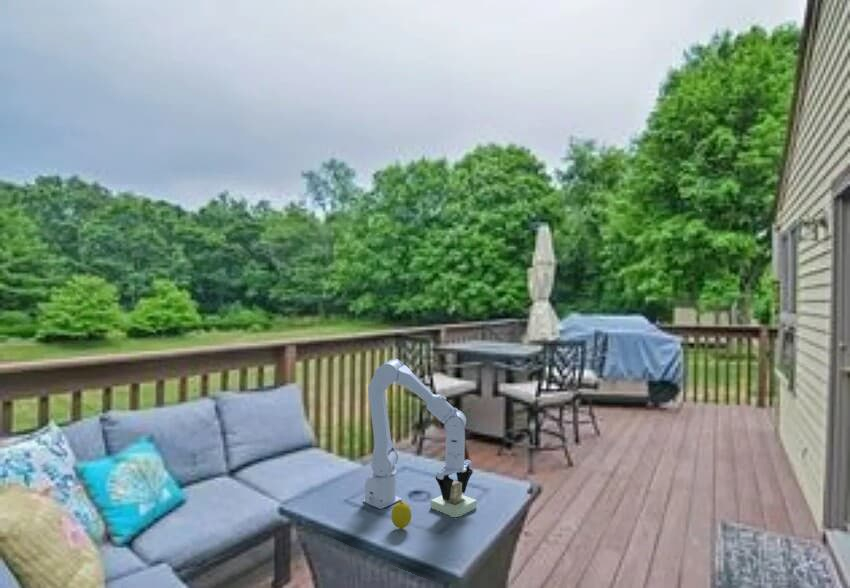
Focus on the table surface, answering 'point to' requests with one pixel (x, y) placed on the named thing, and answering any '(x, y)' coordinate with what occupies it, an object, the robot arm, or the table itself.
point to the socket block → (454, 506)
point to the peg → (455, 493)
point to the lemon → (401, 515)
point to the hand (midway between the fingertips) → (453, 495)
